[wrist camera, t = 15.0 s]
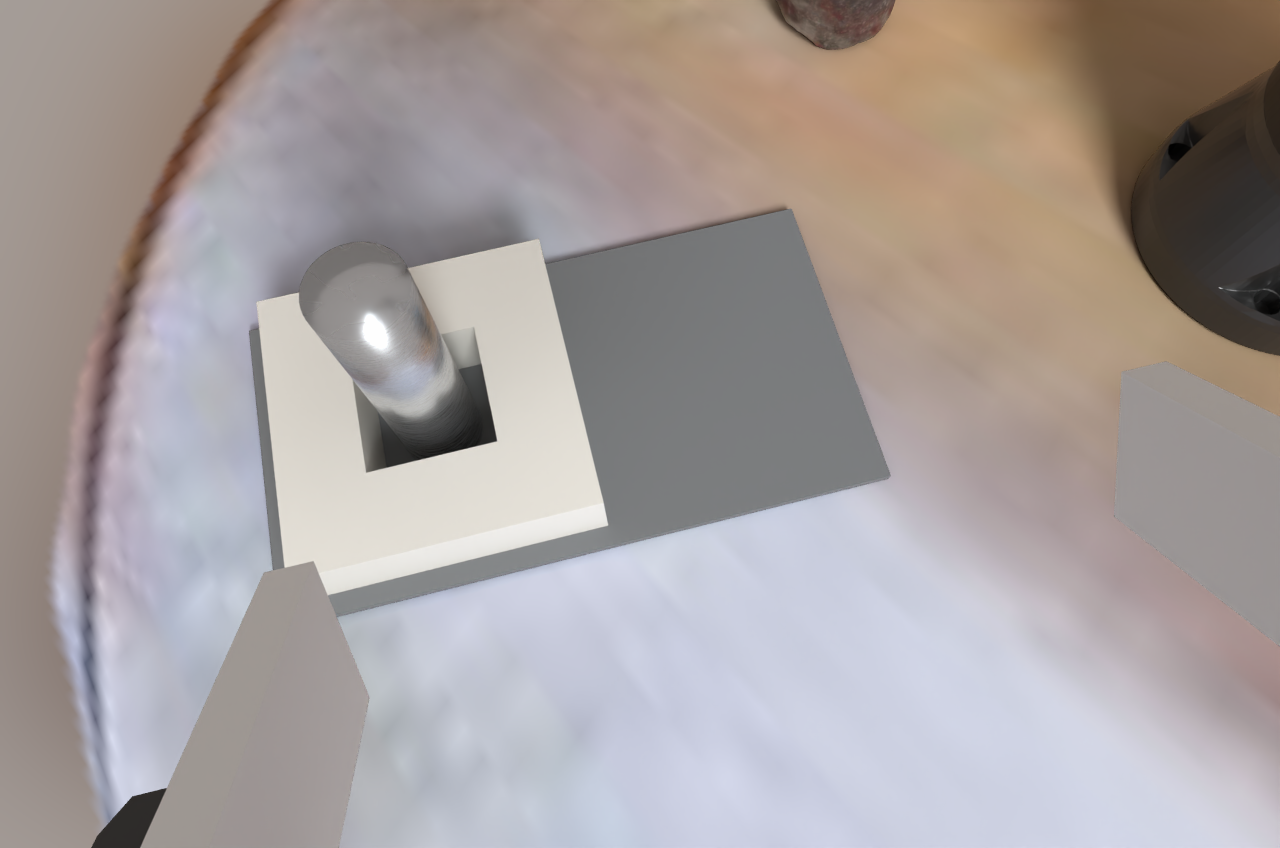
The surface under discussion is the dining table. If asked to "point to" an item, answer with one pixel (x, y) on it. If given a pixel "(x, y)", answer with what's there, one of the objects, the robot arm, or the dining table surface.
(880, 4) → the candle
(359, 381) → the pin
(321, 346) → the hole block
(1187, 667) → the dining table surface
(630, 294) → the mat
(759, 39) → the dining table surface
